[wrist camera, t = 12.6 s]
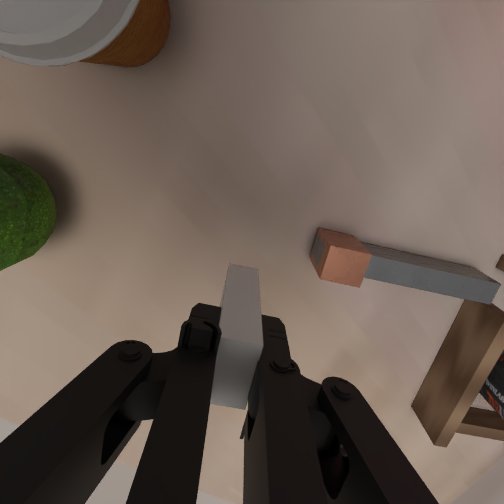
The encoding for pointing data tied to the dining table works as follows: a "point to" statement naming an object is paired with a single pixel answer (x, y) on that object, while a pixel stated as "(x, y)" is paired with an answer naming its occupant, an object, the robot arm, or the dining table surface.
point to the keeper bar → (396, 268)
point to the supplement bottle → (495, 387)
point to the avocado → (23, 211)
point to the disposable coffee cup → (83, 31)
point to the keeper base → (463, 376)
